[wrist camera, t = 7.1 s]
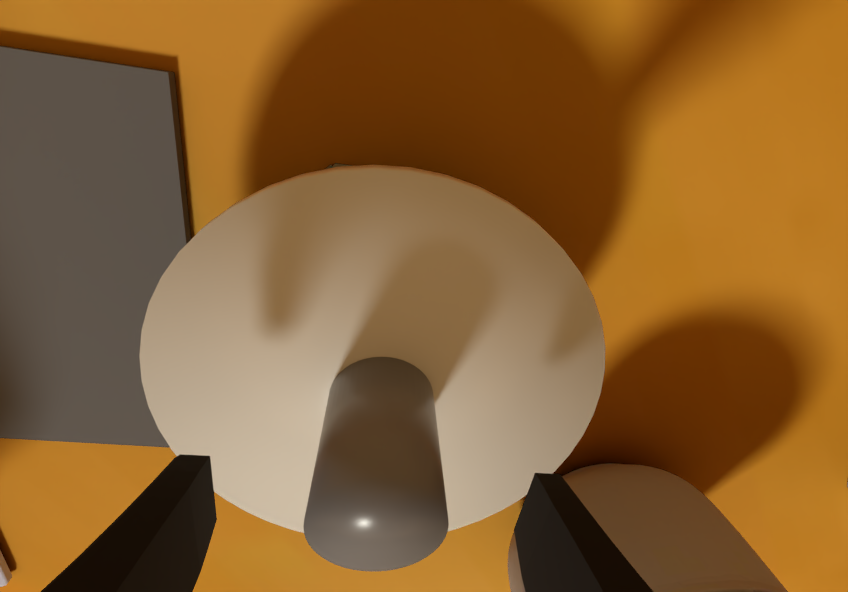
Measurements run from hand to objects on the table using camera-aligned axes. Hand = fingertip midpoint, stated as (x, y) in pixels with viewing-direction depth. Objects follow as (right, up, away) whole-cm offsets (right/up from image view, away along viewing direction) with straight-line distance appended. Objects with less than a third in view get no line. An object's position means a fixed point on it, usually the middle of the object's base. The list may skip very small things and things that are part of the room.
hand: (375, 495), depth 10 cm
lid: (0, +2, +3) cm, 4 cm away
